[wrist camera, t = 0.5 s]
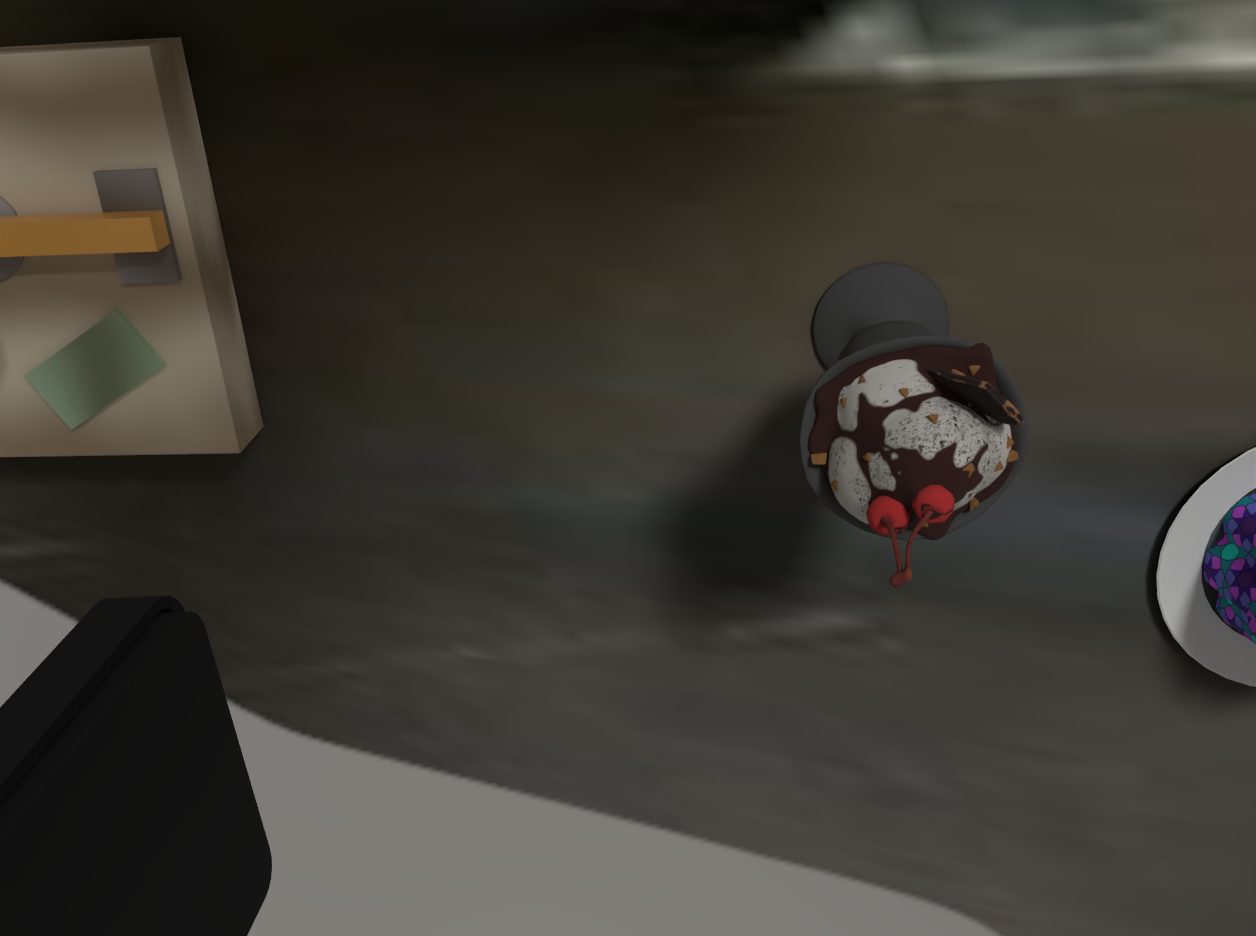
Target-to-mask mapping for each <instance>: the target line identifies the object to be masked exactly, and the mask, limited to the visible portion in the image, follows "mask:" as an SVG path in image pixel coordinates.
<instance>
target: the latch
mask: <svg viewBox="0 0 1256 936" xmlns="http://www.w3.org/2000/svg"><path fill="white" fill-rule="evenodd" d="M169 244H170V241H169V237H168V232H167V228H166V224H165V219H164V215H163V211H162V210H152V211H127V212H102V213H77V214H52V215H27V216H2V217H0V257H18V256H46V255H73V254H101V253H129V252H157V251H159V250H161V249H162V248H164V247H166V246H167V245H169Z"/></svg>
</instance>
